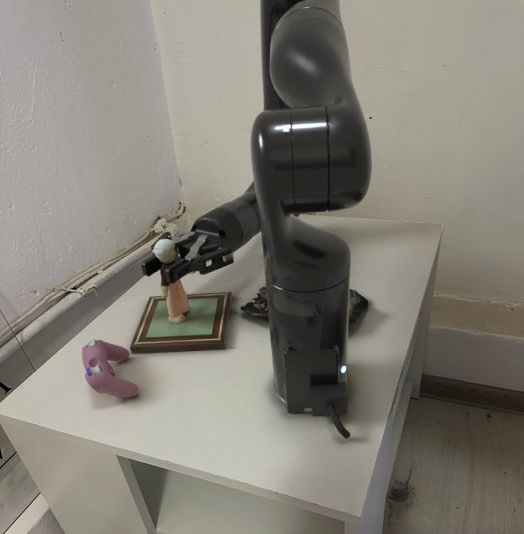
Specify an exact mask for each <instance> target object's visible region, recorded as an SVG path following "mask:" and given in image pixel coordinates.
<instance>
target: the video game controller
mask: <svg viewBox="0 0 524 534" xmlns="http://www.w3.org/2000/svg"><path fill="white" fill-rule="evenodd" d="M129 357H130V351H129V350H128V349H127V348H126V347H124V346H122V345H118V344H113V343H109V342H107V341H105V340H102V339H95V338H94V339H93V340H92V341H89V342H88V343H87V344H85V345H84V346H83V347H82V348H81V359H82V364H83V367H84V370H85V373H84V379H85V380H86V382H87V384H88V385H89V387H90V388H92V390H94V391H95V392H96V393H98V394H106V395H109V396H112V397H118V398H132V397H134V396H137V395H138V393H139V391H140V390H139V387H138V385H137V384H136V383H135V382H133V381H130V380H126V379H123V378H121V377H117V376H114V375H113V374H115V369H114V367H113V366H112V365H111V364H110V362H123V361H126V360H128V359H129Z"/></svg>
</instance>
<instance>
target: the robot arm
mask: <svg viewBox="0 0 524 534" xmlns="http://www.w3.org/2000/svg"><path fill="white" fill-rule="evenodd" d="M340 6H341V5H340V0H259V22H260V23H259V24H260V25H259V27H260V28H259V29H260V58H261V59H260V60H261V77H262V78H261V80H262V96H263V99H262V100H263V103H262V104H263V111H261V112H259V113H258V114H257V115H256V117H255V119H254V120H253V122H252V127H251V131H250V142H249V143H250V161H251V170H252V177H253V180H252V181H251V183H250V184H249V186H248V187H247V188H246V190H245V191H244V192H243V194H241V195H240V196H238V197H236V198H234V199H232V200H231V201H227V202H224V203H222V204H221V205H219V206H217V207H215V208H213V209H212V210H210V211H208V212H206V213H204V214H202V215H200V217H198V218H196V219H195V221H194V222H193V224H192V227H191V229H190V231H187V232H184V233H181V234H179V236H172V233H171V232H170V231H165V232H163V233H162V234H161V235H160V236H159V237H158V238H157V239H156V240H155V241H154V242H153V244H151V246H150V250H151V254H152V255H151V256H150V257H148V258H146V259H144V260H143V261H142V262H141V270H142V271H141V272H142V274H143V276H144V277H145V276H146V277H149V278H150V277H151V276H153V275H154V274H156V273H157V272H158V271H159V272H160V269H161V266H162V262H161V261H160V260H159V258H157V257H156V255H155V254H154V253H153V252H152V251H153V249H154V247H155V244H156V243H157V242H158V241H159V240H162V239H169V240H172V241H173V242H174V244H175V247H174V250H175V253H176V257H175V263H174V264H172V265H171V266H169V267H167V268H166V269H165V276H166V281H167V282H169V283H174V282H175V281H177V280H179V279H180V280H181V279H182V278H184V277H186V276H187V275H193V274H195V273H196V272H198V273H199V275H202V276H205V275H207V274H210V273H212V272H215V271H217V270H220V269H222V268H225V267H227V266H230V265H233V264H234V263H235V260H234V258H235V256H234V253H235V252H237V251H238V250H239V249H241V248H242V247H244V246H245V245H246V244H248V243H249V242H250V241H251V240H252V239H253V238H254V237H256V236H257V235H258V234H260V233H261V234H260V235H261V244H262V255H263V269H264V280H265V282H264V283H265V287H266V293H267V306H268V317H269V318H268V327H269V338H270V348H271V360H272V369H273V371H272V372H273V380H274V381H273V388H274V389H273V390H274V394H275V396H276V398H277V400H278V401H279V402H280V403H281V404H282V405H284V406H285V407H286V412H287V414H297V413H299V414H302V413H303V414H305V413H311V416H312V417H330V419H331V421H332V424H333V425H334V427H335V429H336V430H337V432H338V434H339V435H341V437H343V438H344V439H349V438H350V437H351V435H352V434H351V432H350V431H349V430H347V429H346V427H345V426H344V424H343V422H342V421H341V420H340V417H339V416H347V415H348V409H349V407H348V406H349V394H348V393H349V392H348V347H349V323H348V321H349V295H350V289H351V270H352V269H351V266H352V252H351V248H350V245H349V243H348V241H346V239H344V237H342V236H341V235H340V234H337V233H335V232H333V231H332V230H329V229H326V228H323V227H318V226H316V225H313V224H310V223H308V222H306V221H304V220H302V219H300V218H299V217H300V216H301V214H312V213H313V214H315V213H327V212H328V213H329V212H340V211H346V210H349V209H353V208H355V207H357V206H358V205H360V204H361V203H362V202H363V200H364V199H365V197H366V195H367V193H368V191H369V188H370V185H371V181H372V173H373V158H372V157H373V155H372V144H371V138H370V133H369V132H370V131H369V128H368V125H367V121H366V118H365V114H364V111H363V108H362V106H361V102H360V100H359V97H358V95H357V91H356V89H355V86H354V82H353V77H352V69H351V58H350V52H349V45H348V39H347V35H346V31H345V28H344V24H343V19H342V13H341V7H340ZM209 262H211V263H210V264H209V265H207V263H209Z"/></svg>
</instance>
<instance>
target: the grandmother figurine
mask: <svg viewBox="0 0 524 534" xmlns="http://www.w3.org/2000/svg"><path fill="white" fill-rule="evenodd" d="M174 247H175V244H174V242H173V241H172V240H169V239H162V240H159V241H158V242H157V243H156V244H155V247H154V249H153V251H152V250H151V253H152V252H153V253H154V254H155V255H156V257H157V258H159V260H160V261H161V262H162V266H161V269H160V270H159V272H160V273H159V274H160V280H161V281H160V291H161V293H160V296H161V297H162V298H166V300H167V307H168V313H169V315H170V316H169V317H168V321H170V322H174V323H182V322H184V320H185V316H184V315H183V314H185V313H187V311H188V310H189V309H190V304H189V301H188V298H187V295H186V294H187V293H186V290H185V288H184V286H183V284H182V281H181V279H179V280H177V281H175V282H174V283H169V282H167V281H166V276H165V269H166V268H167V267H169V266H171V265H172V264H174V263H175V257H176V253H175V250H174Z"/></svg>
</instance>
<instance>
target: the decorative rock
mask: <svg viewBox="0 0 524 534" xmlns="http://www.w3.org/2000/svg"><path fill="white" fill-rule="evenodd" d="M256 296H257V297H253V298H252V299H251V301H249V302H247V303H246V304H244V305H241V306H240V307H239V309H240V311H243V312H245V313H246V314H248V315H251V316H256V317H260V318H267V319H269V317H268V306H267V293H266V286H263V287H261V288H259V289H258V292H256ZM368 307H369V300H368V299H367V298H366V297H365V296H363V295H362V294H360V293H359V292H358V291H357V290H356V289H351V288H350V295H349V321H348V325H352V324H353V323H355V322H356V321H357V319H358V318H359V317H360V315H361V314H362V312H363V311H364V309H365V308H368Z"/></svg>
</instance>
